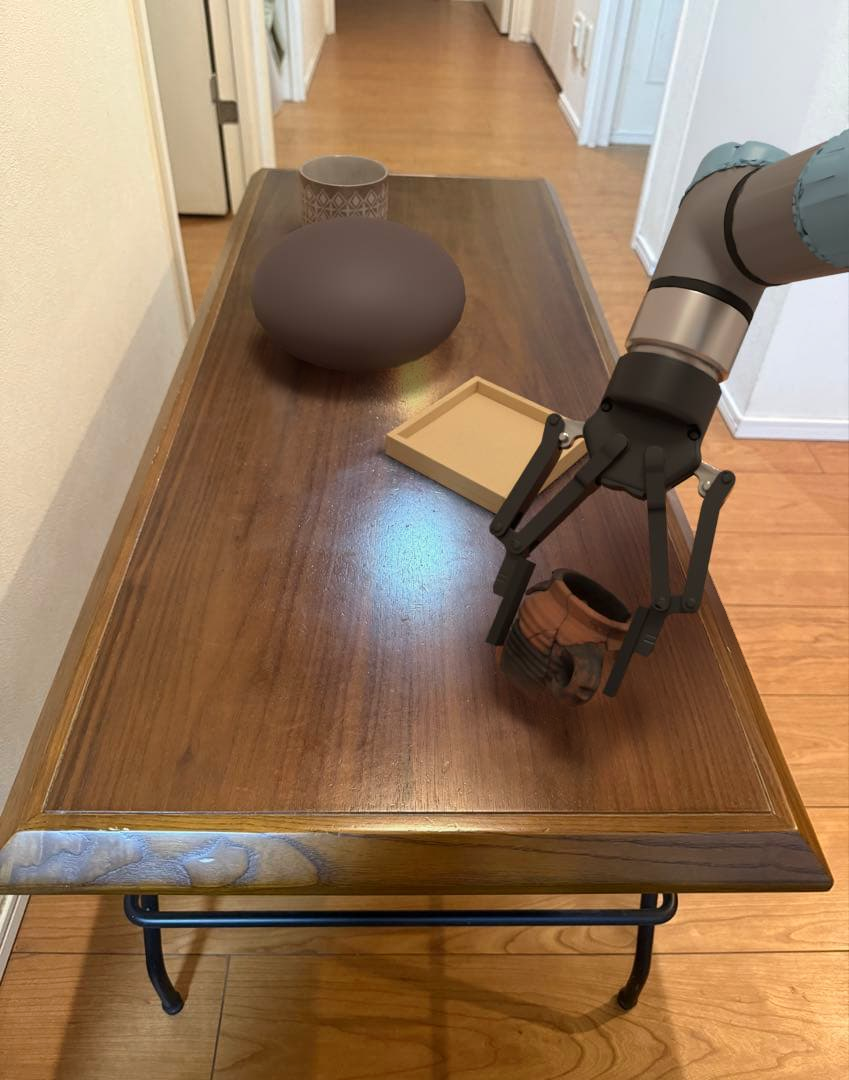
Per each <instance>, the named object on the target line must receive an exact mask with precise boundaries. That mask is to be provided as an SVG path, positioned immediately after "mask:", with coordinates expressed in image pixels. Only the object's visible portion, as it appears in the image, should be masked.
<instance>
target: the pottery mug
mask: <svg viewBox="0 0 849 1080" xmlns="http://www.w3.org/2000/svg"><path fill="white" fill-rule="evenodd" d="M551 574H552V575H551V577H550V579H546V580H543V581H539V582H537V583H535V584H534V585H532V586H529V587H527V588H526V591H525V593H524V595H525V596H529V597H526V598H525V599H524V600H523V602H522V603H521V604H520V606H519V608H518V617H517V618H515V619H514V621H513V623H512V625H511V628H510V630H509V633H508V635H507V637H506V640H505V642H504V645H503V646H496V649H495V660H496V662H497V665H498V667H499V670H500V671H501V673H502V674H503V675H504V678H505V679H506V680H508V682H509V683H510V685H512V686H513V687H514V688H515V689H516V690H517V691H518V692H520V693H521V694H522V695H524V696H525V697H526V698H529V699H530V700H532V701H537V700H538V698H539V697H540V694H541V693H543V692H544V690H545V689H546V691H547V693H548V695H549V696H550V697H551V698H552V699H554V700H555V701H556V702H559V703H560V704H561V705H563V706H565V707H570V708H577V707H581V706H583V705H585V704H587V703H589V702H590V701H591V700H592V698H593V697H594V696H595V694H596V693H597V692H598V690H599V688H600V686H601V682H602V678H603V668H604V661H605V656H606V655H605V652H604V650H603V649H602V647H601V646H599V645H598V644H604V649H605V651H607V652H613V656H612V658H613V660H614V661H615V660H616V658H617V655H618V653H619V651H620V648H621V646H622V643H623V641H624V638H625V636H626V633H627V631H628V628H629V626H630V624H631V621H632V619H631V618H632V617H633V611H632V610H631V609H630V607H629V606H628V605H627V604H626V603H625V602H624V601H623V600H622V599H621V598H620V597H618V596H617V595H616V594H615V593H614V592H613V591H611V590H609V589H608V588H607V587H605V586H604V585H602V584H601V583H600V582H598V580H597V581H596V580H595V579H594V578H591V577H589V576H588V575H587V574H584V573H582V572H579V571H577V570H574V569H571V568H566V567H559V568H556V569H553V570H551ZM534 593H536V594H534ZM532 594H533V595H532ZM584 602H586V603H584ZM555 644H557V645H558V646H559V647H561V648H562V649H561V651H560V655H552V654H553V649H554V645H555Z"/></svg>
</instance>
